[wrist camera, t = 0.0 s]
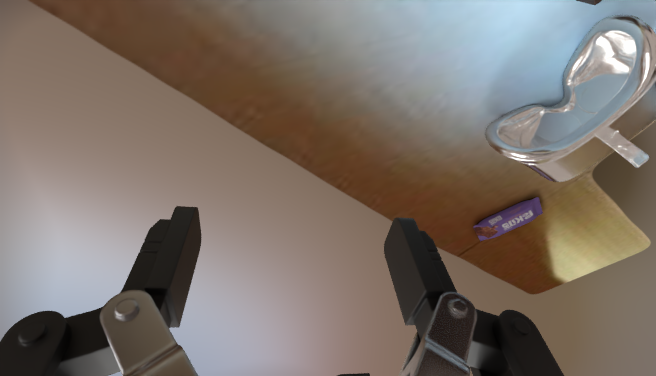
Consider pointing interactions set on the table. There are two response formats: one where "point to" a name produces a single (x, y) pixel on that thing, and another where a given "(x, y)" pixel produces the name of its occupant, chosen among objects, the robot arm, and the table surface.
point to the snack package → (508, 219)
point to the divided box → (590, 1)
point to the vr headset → (588, 105)
